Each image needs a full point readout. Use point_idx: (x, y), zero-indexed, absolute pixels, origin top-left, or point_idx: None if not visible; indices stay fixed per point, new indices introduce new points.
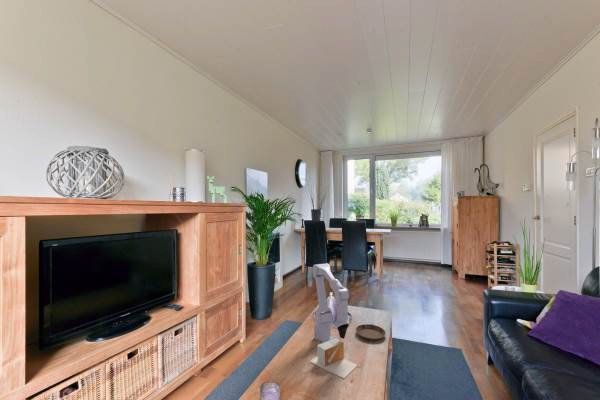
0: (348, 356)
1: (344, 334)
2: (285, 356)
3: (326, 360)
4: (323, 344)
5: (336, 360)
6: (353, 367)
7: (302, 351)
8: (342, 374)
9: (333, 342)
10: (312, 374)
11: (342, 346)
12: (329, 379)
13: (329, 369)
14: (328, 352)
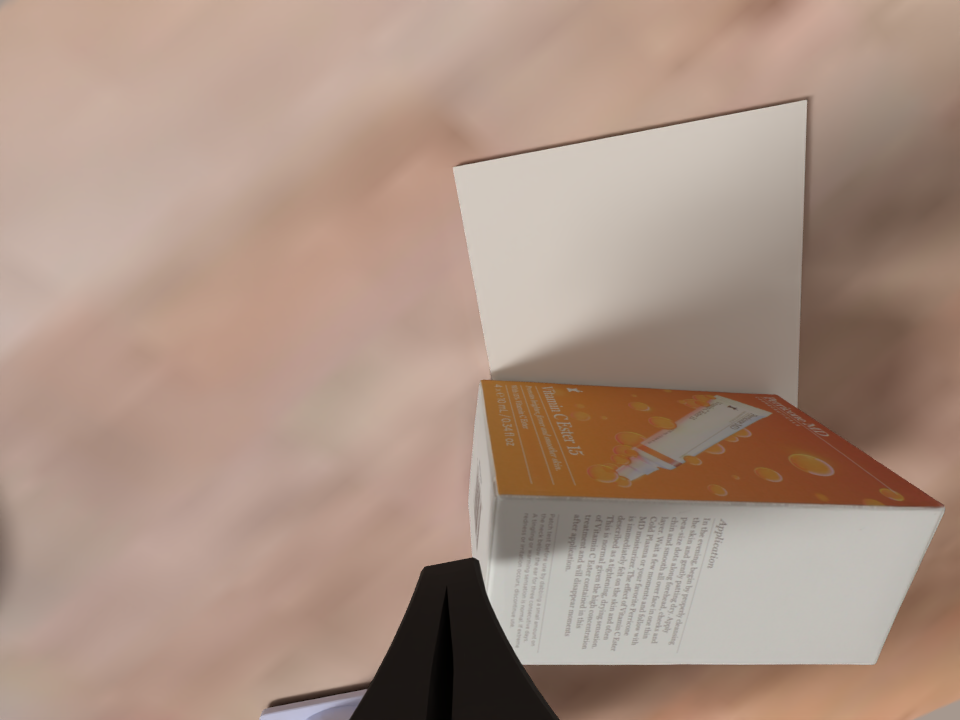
0: (390, 379)
1: (461, 621)
2: (857, 709)
3: (800, 419)
4: (798, 632)
5: (609, 389)
6: (541, 166)
7: (695, 693)
8: (760, 162)
9: (636, 590)
10: (939, 388)
11: (520, 459)
12: (908, 214)
13: (778, 331)
14: (828, 468)
